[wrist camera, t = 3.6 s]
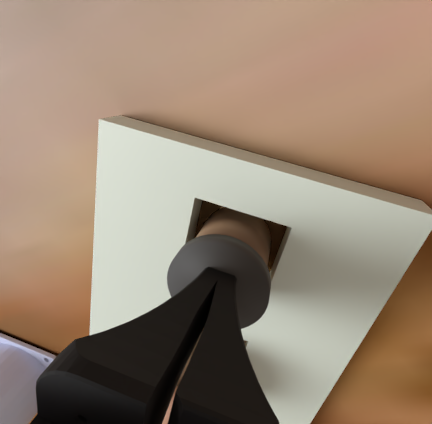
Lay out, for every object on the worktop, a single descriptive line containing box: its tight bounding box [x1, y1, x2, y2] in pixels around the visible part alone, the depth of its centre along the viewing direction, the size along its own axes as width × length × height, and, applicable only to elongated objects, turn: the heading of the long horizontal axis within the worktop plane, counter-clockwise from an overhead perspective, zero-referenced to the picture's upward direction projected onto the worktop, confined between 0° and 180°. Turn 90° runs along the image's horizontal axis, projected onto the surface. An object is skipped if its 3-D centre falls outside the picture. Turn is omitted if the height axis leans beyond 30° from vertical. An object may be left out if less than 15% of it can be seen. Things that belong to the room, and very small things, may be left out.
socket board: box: [90, 115, 432, 424], centre depth 20 cm, size 16×26×2 cm, turn 167°
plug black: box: [167, 207, 271, 329], centre depth 15 cm, size 5×5×5 cm
